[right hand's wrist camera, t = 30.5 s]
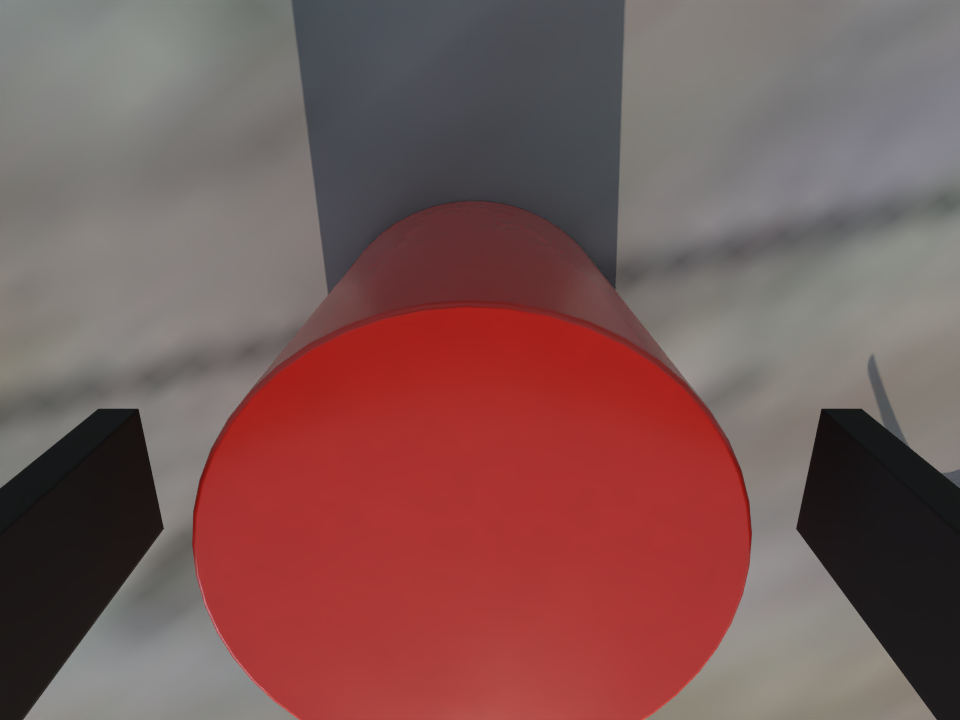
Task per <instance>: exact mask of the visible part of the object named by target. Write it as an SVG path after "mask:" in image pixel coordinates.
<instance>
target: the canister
mask: <svg viewBox="0 0 960 720" xmlns="http://www.w3.org/2000/svg"><path fill="white" fill-rule="evenodd" d="M751 537H752V529H751V517H750V505H749V499H748V495H747V491H746V487H745V483H744V478H743V474H742V470H741V468H740V466H739V463H738V461H737V459H736V456H735V454H734V452H733V449H732V447H731V445H730V442H729V440H728V438H727V437H726V435H725V433H724V432H723V430H722V429H721V427H720V425H719V424H718V422H717V421H716V419H715V417H714V416H713V414H712V413H711V411H710V410H709V408H708V407H707V406H706V405H705V403H704V402H703V401H702V400H701V398H700V397H699V396H698V395H697V393H696V392H695V391H694V389H693V388H692V387H691V386H690V384H689V383H688V382H687V381H686V379H685V378H684V377H683V376H682V374H681V373H680V372H679V370H678V369H677V368H676V367H675V365H674V364H673V363H672V362H671V360H670V359H669V358H668V357H667V355H666V354H665V353H664V352H663V350H662V349H661V348H660V346H659V345H658V344H657V343H656V341H655V340H654V339H653V338H652V336H651V335H650V334H649V333H648V331H647V330H646V329H645V327H644V326H643V325H642V324H641V322H640V321H639V320H638V319H637V317H636V316H635V315H634V314H633V312H632V311H631V310H630V309H629V307H628V306H627V305H626V303H625V302H624V301H623V300H622V298H621V297H620V296H619V295H618V293H617V292H616V291H615V290H614V288H613V287H612V286H611V285H610V283H609V282H608V281H607V279H606V278H605V277H604V276H603V274H602V273H601V272H600V271H599V269H598V268H597V267H596V266H595V264H594V263H593V262H592V260H591V259H590V258H589V257H588V256H587V254H586V253H585V252H584V251H583V250H582V249H581V247H580V246H579V245H578V244H577V243H576V242H575V241H574V240H573V239H572V238H570V237H569V236H568V235H567V234H566V233H565V232H564V231H562V230H561V229H559V228H558V227H556V226H555V225H553V224H552V223H550V222H549V221H547V220H545V219H543V218H541V217H539V216H537V215H535V214H533V213H531V212H529V211H526V210H523V209H520V208H517V207H514V206H511V205H505V204H500V203H494V202H484V201H464V202H452V203H447V204H443V205H438V206H434V207H430V208H428V209H425V210H422V211H419V212H417V213H414V214H412V215H410V216H408V217H406V218H404V219H403V220H401V221H399V222H397V223H395V224H394V225H393V226H391V227H390V228H389V229H387V230H386V231H384V232H383V233H382V234H380V235H379V236H378V237H377V238H376V239H375V240H374V241H373V242H372V243H371V244H370V245H369V246H368V247H367V248H366V249H365V250H364V252H363V253H362V254H361V255H360V257H359V258H358V259H357V260H356V261H355V263H354V264H353V265H352V266H351V268H350V269H349V270H348V271H347V272H346V274H345V275H344V276H343V277H342V279H341V280H340V281H339V282H338V284H337V285H336V286H335V287H334V288H333V290H332V291H331V292H330V293H329V295H328V296H327V297H326V298H325V300H324V301H323V302H322V303H321V304H320V306H319V307H318V308H317V309H316V311H315V312H314V313H313V314H312V316H311V317H310V318H309V319H308V320H307V322H306V323H305V324H304V325H303V327H302V328H301V329H300V330H299V332H298V333H297V334H296V335H295V336H294V338H293V339H292V340H291V341H290V343H289V344H288V345H287V346H286V347H285V349H284V350H283V351H282V352H281V354H280V355H279V356H278V357H277V359H276V360H275V361H274V362H273V363H272V365H271V366H270V367H269V368H268V370H267V371H266V372H265V373H264V375H263V376H262V377H261V378H260V379H259V381H258V382H257V383H256V384H255V386H254V387H253V388H252V389H251V391H250V392H249V393H248V394H247V396H246V397H245V398H244V399H243V401H242V402H241V403H240V404H239V406H238V407H237V408H236V409H235V411H234V412H233V413H232V415H231V416H230V417H229V418H228V420H227V422H226V423H225V425H224V427H223V429H222V431H221V432H220V434H219V436H218V438H217V439H216V441H215V443H214V445H213V446H212V448H211V451H210V453H209V456H208V459H207V461H206V464H205V467H204V469H203V472H202V475H201V477H200V481H199V486H198V491H197V496H196V501H195V506H194V511H193V538H192V545H193V554H194V562H195V570H196V576H197V580H198V583H199V587H200V591H201V594H202V598H203V601H204V605H205V607H206V609H207V611H208V613H209V616H210V618H211V620H212V622H213V625H214V627H215V629H216V631H217V633H218V635H219V636H220V638H221V639H222V641H223V642H224V644H225V646H226V647H227V649H228V650H229V652H230V654H231V655H232V657H233V658H234V659H235V661H236V662H237V663H238V664H239V665H240V667H241V668H242V669H243V670H244V671H245V673H246V674H247V675H248V676H249V677H250V679H251V680H252V681H253V682H254V683H255V684H256V685H257V686H259V687H260V688H261V689H262V690H263V691H264V692H265V693H266V694H267V695H268V696H269V697H270V698H271V699H272V700H273V701H275V702H276V703H277V704H279V705H280V706H281V707H283V708H284V709H285V710H287V711H288V712H289V713H291V714H292V715H294V716H295V717H296V718H298V719H299V720H644V719H646V718H647V717H649V716H650V715H652V714H653V713H655V712H656V711H657V710H658V709H660V708H661V707H662V706H663V705H665V704H666V703H667V702H668V701H670V700H671V699H672V698H673V697H675V696H676V695H677V694H678V693H679V692H680V691H681V690H682V689H683V688H684V687H685V686H686V685H687V684H688V683H689V682H690V681H691V680H692V679H693V678H694V677H695V676H696V675H697V674H698V673H699V672H700V670H701V669H702V668H703V666H704V665H705V664H706V662H707V661H708V660H709V658H710V657H711V656H712V654H713V653H714V652H715V650H716V649H717V648H718V646H719V644H720V642H721V640H722V639H723V637H724V635H725V633H726V632H727V630H728V628H729V626H730V625H731V623H732V620H733V618H734V615H735V613H736V610H737V608H738V605H739V603H740V600H741V598H742V595H743V591H744V587H745V582H746V578H747V574H748V569H749V564H750V551H751Z"/></svg>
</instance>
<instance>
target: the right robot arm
mask: <svg viewBox="0 0 960 720" xmlns="http://www.w3.org/2000/svg"><path fill="white" fill-rule="evenodd" d="M163 529H164V528H163V523H162V518H161V513H160V509H159V504H158V499H157V494H156V490H155V485H154V480H153V475H152V471H151V466H150V461H149V457H148V452H147V447H146V442H145V438H144V433H143V428H142V423H141V419H140V414H139V409H98V410H96V411H95V412H94V413H93V414H92V415H90V416H89V417H88V418H87V419H85V420H84V421H83V422H82V423H80V424H79V425H78V426H77V427H76V428H74V429H73V430H72V431H71V432H69V433H68V434H67V435H66V436H64V437H63V438H62V439H61V440H59V441H58V442H57V443H56V444H55V445H53V446H52V447H51V448H50V449H48V450H47V451H46V452H45V453H43V454H42V455H41V456H40V457H39V458H37V459H36V460H35V461H34V462H32V463H31V464H30V465H29V466H27V467H26V468H25V469H24V470H22V471H21V472H20V473H19V474H18V475H16V476H15V477H14V478H13V479H11V480H10V481H9V482H8V483H6V484H5V485H4V486H3V487H1V488H0V720H23V719H24V718H25V716H26V715H27V714H28V712H29V711H30V710H31V708H32V707H33V706H34V704H35V703H36V701H37V700H38V699H39V697H40V696H41V695H42V693H43V692H44V691H45V689H46V688H47V687H48V685H49V684H50V682H51V681H52V680H53V678H54V677H55V676H56V674H57V673H58V672H59V670H60V669H61V668H62V666H63V665H64V663H65V662H66V661H67V659H68V658H69V657H70V655H71V654H72V653H73V651H74V650H75V649H76V647H77V646H78V644H79V643H80V642H81V640H82V639H83V638H84V636H85V635H86V634H87V632H88V631H89V630H90V628H91V627H92V625H93V624H94V623H95V621H96V620H97V619H98V617H99V616H100V615H101V613H102V612H103V611H104V609H105V608H106V606H107V605H108V604H109V602H110V601H111V600H112V598H113V597H114V596H115V594H116V593H117V592H118V590H119V589H120V587H121V586H122V585H123V583H124V582H125V581H126V579H127V578H128V577H129V575H130V574H131V573H132V571H133V570H134V568H135V567H136V566H137V564H138V563H139V562H140V560H141V559H142V558H143V556H144V555H145V554H146V552H147V551H148V549H149V548H150V547H151V545H152V544H153V543H154V541H155V540H156V539H157V537H158V536H159V535H160V533H161V532H162V530H163ZM796 529H797V530H798V532H799V533H800V535H801V536H802V537H803V539H804V540H805V541H806V543H807V544H808V545H809V547H810V548H811V549H812V551H813V552H814V554H815V555H816V556H817V558H818V559H819V560H820V562H821V563H822V564H823V566H824V567H825V568H826V570H827V571H828V573H829V574H830V575H831V577H832V578H833V579H834V581H835V582H836V583H837V585H838V586H839V587H840V589H841V590H842V592H843V593H844V594H845V596H846V597H847V598H848V600H849V601H850V602H851V604H852V605H853V606H854V608H855V609H856V611H857V612H858V613H859V615H860V616H861V617H862V619H863V620H864V621H865V623H866V624H867V625H868V627H869V628H870V630H871V631H872V632H873V634H874V635H875V636H876V638H877V639H878V640H879V642H880V643H881V644H882V646H883V647H884V649H885V650H886V651H887V653H888V654H889V655H890V657H891V658H892V659H893V661H894V662H895V663H896V665H897V666H898V668H899V669H900V670H901V672H902V673H903V674H904V676H905V677H906V678H907V680H908V681H909V682H910V684H911V685H912V687H913V688H914V689H915V691H916V692H917V693H918V695H919V696H920V697H921V699H922V700H923V701H924V703H925V704H926V706H927V707H928V708H929V710H930V711H931V712H932V714H933V715H934V716H935V718H936V719H937V720H960V488H959V487H957V486H956V485H955V484H954V483H952V482H951V481H950V480H949V479H947V478H946V477H945V476H944V475H942V474H941V473H940V472H939V471H938V470H936V469H935V468H934V467H933V466H931V465H930V464H929V463H928V462H926V461H925V460H924V459H923V458H921V457H920V456H919V455H918V454H917V453H915V452H914V451H913V450H912V449H910V448H909V447H908V446H907V445H905V444H904V443H903V442H902V441H901V440H899V439H898V438H897V437H896V436H894V435H893V434H892V433H891V432H889V431H888V430H887V429H886V428H884V427H883V426H882V425H881V424H880V423H878V422H877V421H876V420H875V419H873V418H872V417H871V416H870V415H868V414H867V413H866V412H865V411H864V410H862V409H821V414H820V419H819V423H818V428H817V433H816V438H815V442H814V447H813V452H812V457H811V461H810V466H809V471H808V475H807V480H806V485H805V490H804V494H803V499H802V504H801V509H800V513H799V518H798V523H797V528H796Z"/></svg>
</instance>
